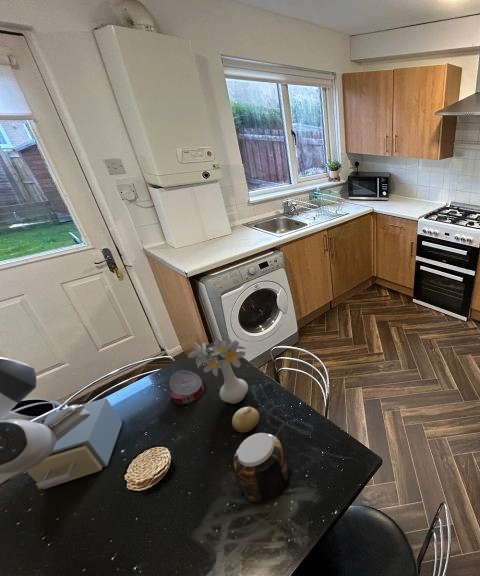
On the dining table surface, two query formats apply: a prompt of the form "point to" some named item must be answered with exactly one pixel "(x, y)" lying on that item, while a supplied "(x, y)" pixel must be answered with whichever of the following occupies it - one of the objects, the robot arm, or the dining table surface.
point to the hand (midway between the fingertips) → (41, 447)
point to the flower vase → (223, 367)
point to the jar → (261, 467)
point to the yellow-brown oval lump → (245, 419)
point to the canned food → (185, 386)
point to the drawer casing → (93, 431)
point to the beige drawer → (65, 466)
